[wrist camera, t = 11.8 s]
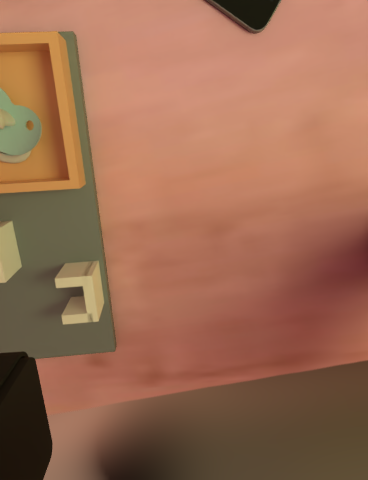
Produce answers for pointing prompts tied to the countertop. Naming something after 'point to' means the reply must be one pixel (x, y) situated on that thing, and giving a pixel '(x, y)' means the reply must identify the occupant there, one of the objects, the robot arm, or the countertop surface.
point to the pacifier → (16, 131)
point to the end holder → (42, 112)
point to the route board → (56, 261)
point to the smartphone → (248, 12)
